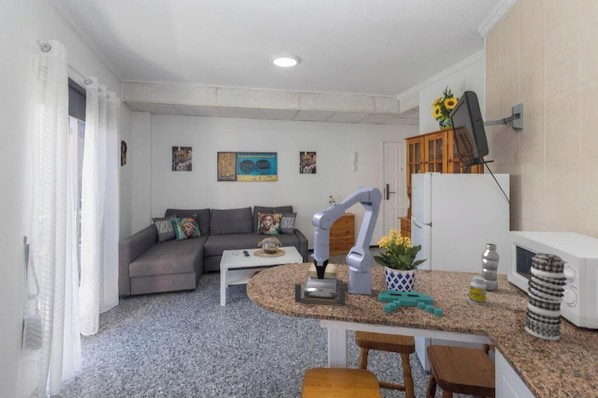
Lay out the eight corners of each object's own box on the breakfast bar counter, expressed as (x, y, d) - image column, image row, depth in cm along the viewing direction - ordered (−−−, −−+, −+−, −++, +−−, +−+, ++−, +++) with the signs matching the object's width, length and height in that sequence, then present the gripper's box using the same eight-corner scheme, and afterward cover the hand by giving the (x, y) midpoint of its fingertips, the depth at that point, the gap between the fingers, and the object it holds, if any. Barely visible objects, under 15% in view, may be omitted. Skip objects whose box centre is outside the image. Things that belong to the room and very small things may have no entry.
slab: (336, 269, 135) (337, 264, 135) (336, 278, 123) (336, 272, 123) (311, 268, 137) (311, 262, 137) (308, 276, 125) (308, 270, 125)
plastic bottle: (494, 293, 123) (498, 247, 121) (476, 288, 128) (479, 244, 126) (499, 290, 127) (503, 245, 125) (482, 285, 132) (485, 242, 130)
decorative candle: (542, 341, 87) (549, 259, 85) (516, 325, 96) (522, 251, 94) (569, 340, 88) (577, 259, 86) (541, 324, 97) (547, 251, 95)
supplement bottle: (465, 300, 116) (467, 276, 115) (475, 298, 117) (477, 274, 117) (478, 305, 110) (480, 280, 110) (488, 303, 112) (490, 279, 112)
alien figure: (442, 317, 102) (423, 294, 122) (442, 311, 102) (424, 289, 122) (384, 313, 104) (375, 291, 124) (384, 307, 104) (375, 286, 124)
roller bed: (344, 279, 136) (344, 266, 136) (344, 305, 108) (345, 288, 108) (303, 276, 139) (304, 263, 138) (294, 301, 111) (295, 285, 111)
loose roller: (304, 299, 113) (304, 289, 112) (305, 295, 117) (305, 285, 116) (335, 301, 111) (335, 291, 110) (335, 297, 115) (335, 287, 114)
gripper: (313, 239, 120) (312, 271, 121) (309, 248, 105) (308, 284, 106) (330, 240, 119) (329, 272, 120) (328, 249, 104) (327, 285, 105)
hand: (320, 278), depth 113 cm, fingers closed
